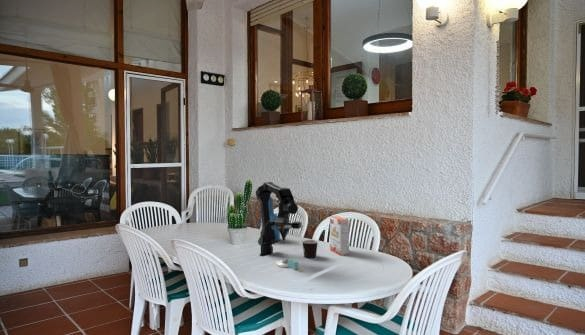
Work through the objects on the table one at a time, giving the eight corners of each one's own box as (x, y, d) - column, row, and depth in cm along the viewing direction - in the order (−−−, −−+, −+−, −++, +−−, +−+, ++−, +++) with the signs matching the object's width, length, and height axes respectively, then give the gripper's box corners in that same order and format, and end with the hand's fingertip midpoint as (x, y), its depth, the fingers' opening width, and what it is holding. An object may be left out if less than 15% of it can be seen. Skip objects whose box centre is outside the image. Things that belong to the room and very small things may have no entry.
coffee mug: (316, 261, 209) (316, 243, 208) (301, 260, 211) (301, 243, 210) (319, 256, 220) (319, 239, 220) (304, 255, 222) (304, 238, 222)
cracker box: (329, 249, 234) (329, 216, 233) (338, 249, 236) (338, 215, 235) (340, 255, 221) (340, 220, 220) (349, 254, 223) (349, 219, 222)
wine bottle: (260, 238, 267) (260, 195, 265) (279, 237, 268) (279, 195, 267) (261, 242, 253) (261, 198, 252) (281, 242, 254) (280, 197, 253)
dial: (272, 263, 201) (272, 256, 200) (289, 260, 206) (288, 253, 206) (288, 271, 187) (287, 264, 187) (305, 268, 192) (304, 261, 192)
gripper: (262, 213, 200) (262, 242, 200) (295, 214, 194) (295, 244, 194) (269, 209, 210) (269, 237, 211) (301, 211, 204) (302, 240, 205)
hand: (283, 240), depth 205 cm, fingers closed
